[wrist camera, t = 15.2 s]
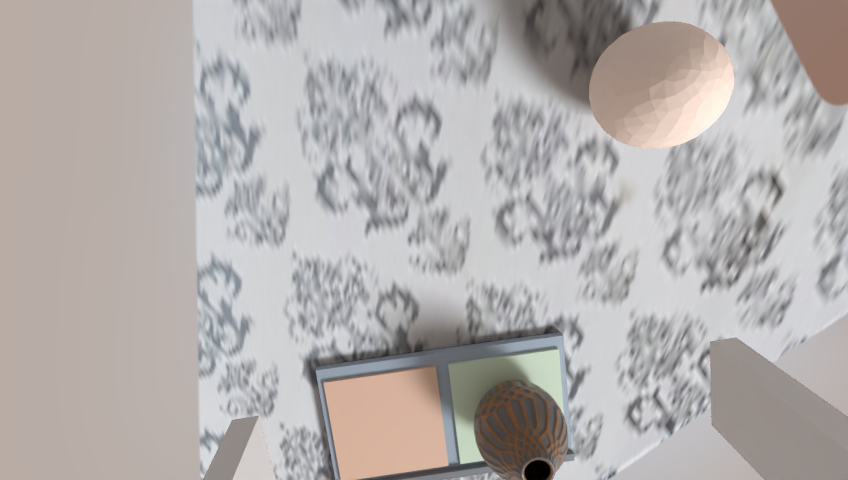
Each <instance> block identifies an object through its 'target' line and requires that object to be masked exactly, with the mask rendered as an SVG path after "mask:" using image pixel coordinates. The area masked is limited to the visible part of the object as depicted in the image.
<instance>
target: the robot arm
mask: <svg viewBox="0 0 848 480" xmlns="http://www.w3.org/2000/svg"><path fill="white" fill-rule="evenodd" d="M710 366H711V413H712V414H711V415H712V416H711V417H712V426H713V427H714V428H715V429H716V430H717V431H718V432H719V433H720V434H721V435H722V436H723V437H724V438H725V439H726V440H727V441H728V442H729V443H730V444H731V445H732V446H733V448H734V449H735V450H736V451H737V452H738V453H739V454H740V455H741V456H742V457H743V458H744V459H745V460H746V461H747V462H748V463H749V464H750V465H751V466H752V467H753V468H754V469H755V470H756V471H757V472H758V473H759V474H760V476H761V477H762V478H763V479H764V480H848V417H847V416H846V415H844V414H843V413H842V412H840V411H839V410H838V409H836V408H835V407H833V406H832V405H831V404H829V403H828V402H826V401H825V400H823V399H822V398H821V397H819V396H818V395H816V394H815V393H813V392H812V391H811V390H809V389H808V388H807V387H805V386H804V385H802V384H801V383H799V382H798V381H797V380H795V379H794V378H792V377H791V376H790V375H788V374H787V373H785V372H784V371H783V370H781V369H779V368H778V367H777V366H776V365H774V364H773V363H771V362H770V361H768V360H767V359H766V358H764V357H763V356H761V355H760V354H759V353H757V352H756V351H754V350H753V349H752V348H750V347H749V346H747V345H746V344H744V343H743V342H742V341H740V340H739V339H737V338H730V339H724V340H718V341H712V342H710ZM203 480H275V476H274V472H273V468H272V464H271V460H270V456H269V452H268V449H267V445H266V441H265V437H264V433H263V429H262V425H261V421H260V418H259V416H254V417H248V418H242V419H235V420H232V422H231V424H230V426H229V428H228V430H227V432H226V434H225V436H224V438H223V440H222V442H221V444H220V446H219V448H218V450H217V452H216V454H215V456H214V458H213V460H212V462H211V464H210V467H209V469H208V471H207V473H206V475H205V477H204V479H203Z"/></svg>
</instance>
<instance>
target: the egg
mask: <svg viewBox="0 0 848 480" xmlns="http://www.w3.org/2000/svg"><path fill="white" fill-rule="evenodd" d="M733 88H734V73H733V67H732V63H731V60H730V57H729V55H728V53H727V52H726V50H725V49H724V47H723V46H722V44H721V43H720V42H719V41H717V40H716V39H715V38H714V37H713V36H711V35H710V34H708V33H707V32H705V31H704V30H702V29H700V28H698V27H695V26H693V25H691V24H686V23H681V22H658V23H651V24H647V25H644V26H640V27H637V28H635V29H633V30H631V31H629V32H627V33H625V34H623V35H621V36H620V37H619V38H618V39H617V40H615V41H614V42H613V43H612V44H611V45H609V46H608V47H607V48H606V50H605V51H604V52H603V53H602V55H601V56H600V58H599V59H598V61H597V63H596V65H595V67H594V69H593V72H592V75H591V79H590V83H589V101H590V105H591V109H592V112H593V114H594V117H595V119H596V120H597V122H598V123H599V124H600V126H601V127H602V128H603V130H604V131H605V132H607V133H608V134H609V135H611V136H612V137H613V138H615V139H616V140H617V141H619V142H622V143H624V144H627V145H630V146H634V147H638V148H647V149H657V148H667V147H671V146H675V145H679V144H683V143H685V142H687V141H689V140H691V139H693V138H695V137H697V136H698V135H699V134H701V133H702V132H703V131H704V130H706V129H707V128H708V127H710V126H711V125H712V124H713V123H714V122H715V121H716V120H717V119H718V118H719V116H720V115H721V114H722V112H723V111H724V110H725V108H726V106H727V104H728V101H729V99H730V97H731V94H732V91H733Z"/></svg>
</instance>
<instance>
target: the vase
mask: <svg viewBox="0 0 848 480" xmlns="http://www.w3.org/2000/svg"><path fill="white" fill-rule="evenodd" d="M474 435H475V440H476V444H477V447H478V450H479V452H480V454H481V456H482V458H483V459H484V461H485V462H486V463H487V465H488V466H489V467H490V468H491V469H492V470H493V471H494V472H495V473H496V474H497V475H499V476H500V477H502V478H503V479H505V480H552V479H553V478H554V475H555V472H556V471H557V470H558V469H559V468H560V466H561V465H562V463H563V461H564V459H565V456H566V453H567V449H568V429H567V424H566V420H565V417H564V415H563V413H562V411H561V409H560V407H559V406H558V404H557V403H556V401H555V400H554V399H553V398H552V396H551V395H550V394H549V393H547V392H546V391H545V390H544V389H542V388H541V387H539V386H537V385H535V384H533V383H531V382H527V381H523V380H508V381H504V382H501V383H499V384H497V385H495V386H493V387H492V388H491V389H489V390H488V391H487V392H486V393H485V394H484V396H483V397H482V399H481V400H480V402H479V404H478V406H477V409H476V412H475V417H474Z"/></svg>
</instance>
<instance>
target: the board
mask: <svg viewBox="0 0 848 480" xmlns="http://www.w3.org/2000/svg"><path fill="white" fill-rule="evenodd" d="M316 376H317V381H318V387H319V392H320V398H321V404H322V409H323V415H324V420H325V426H326V431H327V437H328V442H329V448H330V453H331V459H332V464H333V470H334V475H335V480H445V479H451V478H458V477H465V476H471V475H478V474H485V473H492V472H494V471H493V470H492V469H491V468H490V467H489V466H488V465H487V463H486V462H485V461H484V459H483V458H482V456H481V454H480V452H479V450H478V447H477V444H476V440H475V435H474V417H475V412H476V409H477V406H478V404H479V402H480V400H481V399H482V397H483V396H484V394H485V393H486V392H487V391H488V390H489V389H491V388H492V387H493V386H495V385H497V384H499V383H501V382H504V381H508V380H523V381H527V382H531V383H533V384H535V385H537V386H539V387H541V388H542V389H544V390H545V391H546V392H547V393H549V394H550V395H551V396H552V398H553V399H554V400H555V401H556V403H557V404H558V406H559V407H560V409H561V411H562V413H563V415H564V417H565V420H566V424H567V429H568V449H567V453H566V456H565V459H564V461H563V462H565V461H572V460H574V453H573V452H572V450H571V436H570V422H569V408H568V395H567V381H566V367H565V353H564V339H563V335H562V333H561V332H555V333H548V334H541V335H534V336H527V337H520V338H513V339H506V340H499V341H492V342H485V343H477V344H470V345H463V346H456V347H449V348H442V349H435V350H428V351H421V352H414V353H407V354H400V355H393V356H385V357H378V358H371V359H364V360H357V361H350V362H343V363H336V364H329V365H322V366H317V367H316Z"/></svg>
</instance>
